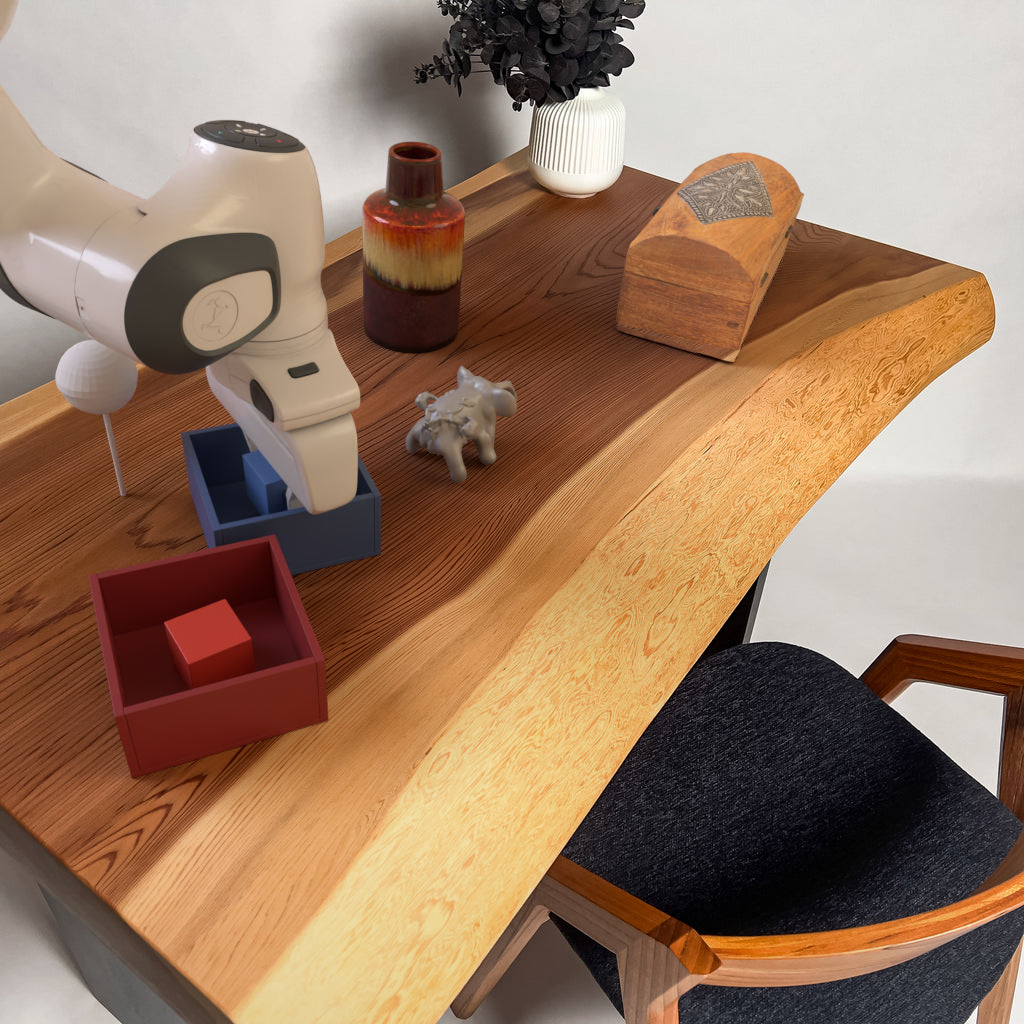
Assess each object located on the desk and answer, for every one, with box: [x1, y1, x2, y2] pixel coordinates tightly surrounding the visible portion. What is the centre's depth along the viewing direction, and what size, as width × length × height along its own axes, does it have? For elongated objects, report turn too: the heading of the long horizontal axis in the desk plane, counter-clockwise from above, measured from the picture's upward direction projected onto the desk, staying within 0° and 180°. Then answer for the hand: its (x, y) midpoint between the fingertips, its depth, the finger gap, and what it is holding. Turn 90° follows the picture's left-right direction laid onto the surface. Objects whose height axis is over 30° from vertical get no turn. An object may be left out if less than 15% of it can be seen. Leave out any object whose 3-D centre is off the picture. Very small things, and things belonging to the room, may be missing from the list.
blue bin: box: [180, 422, 382, 576], centre depth 81 cm, size 13×13×6 cm
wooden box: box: [615, 151, 805, 354], centre depth 118 cm, size 30×16×14 cm, turn 156°
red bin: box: [87, 534, 329, 779], centre depth 68 cm, size 13×13×6 cm
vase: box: [361, 141, 466, 354], centre depth 103 cm, size 11×11×20 cm
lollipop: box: [54, 339, 139, 497], centre depth 79 cm, size 6×6×15 cm
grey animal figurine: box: [405, 365, 518, 484], centre depth 91 cm, size 9×12×8 cm
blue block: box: [242, 450, 288, 516], centre depth 80 cm, size 4×4×4 cm
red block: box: [164, 599, 256, 690], centre depth 68 cm, size 4×4×4 cm
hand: (281, 489), depth 81 cm, fingers closed on blue block, 4 cm apart
